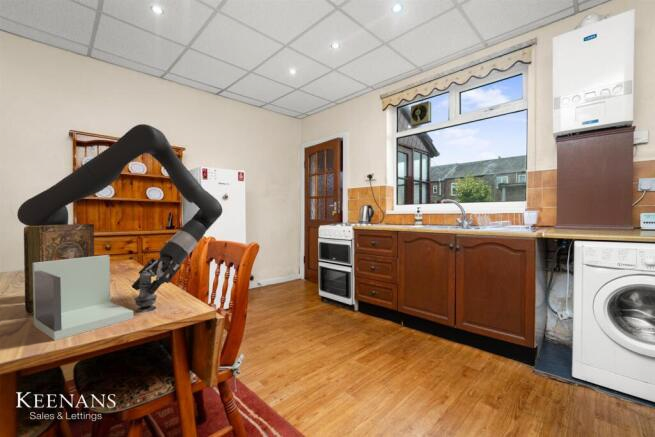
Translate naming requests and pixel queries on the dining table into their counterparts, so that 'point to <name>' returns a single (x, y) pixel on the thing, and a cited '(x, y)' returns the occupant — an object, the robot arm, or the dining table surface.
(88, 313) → the shelf
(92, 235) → the book
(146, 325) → the dining table surface
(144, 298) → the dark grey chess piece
